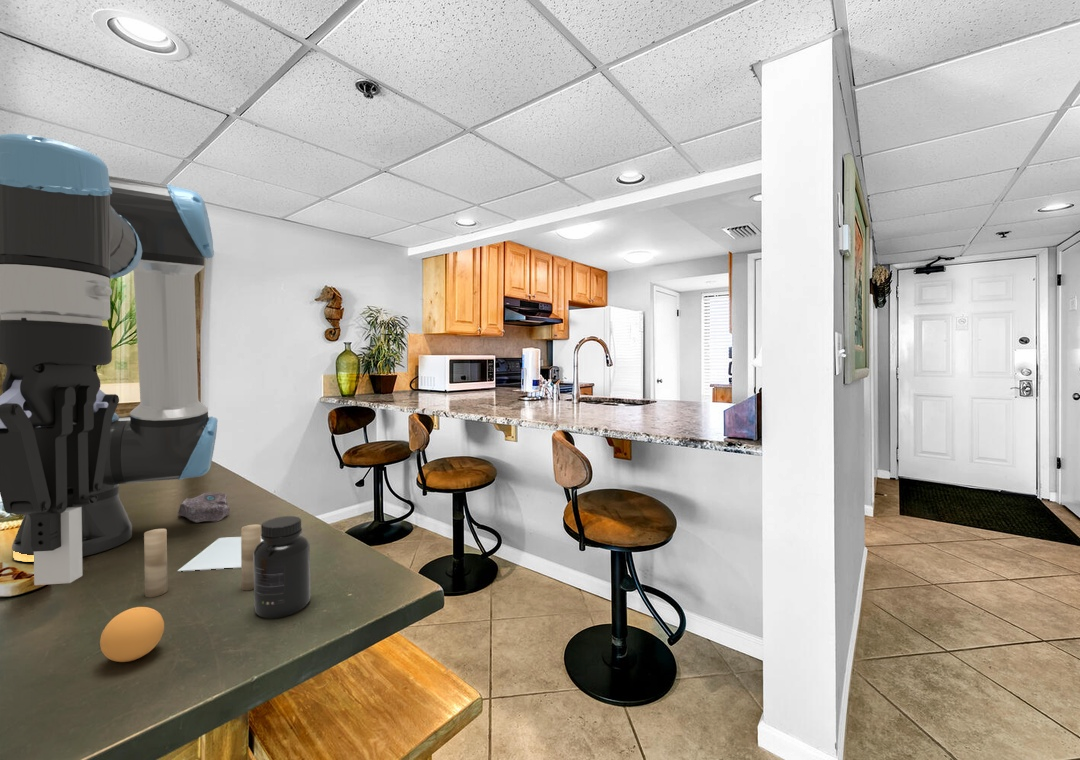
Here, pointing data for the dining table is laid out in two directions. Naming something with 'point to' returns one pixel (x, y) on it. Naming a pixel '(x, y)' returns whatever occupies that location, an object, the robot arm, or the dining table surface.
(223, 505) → the rock
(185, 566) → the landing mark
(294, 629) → the dining table surface
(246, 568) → the post
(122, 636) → the ball
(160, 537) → the post
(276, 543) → the supplement bottle
